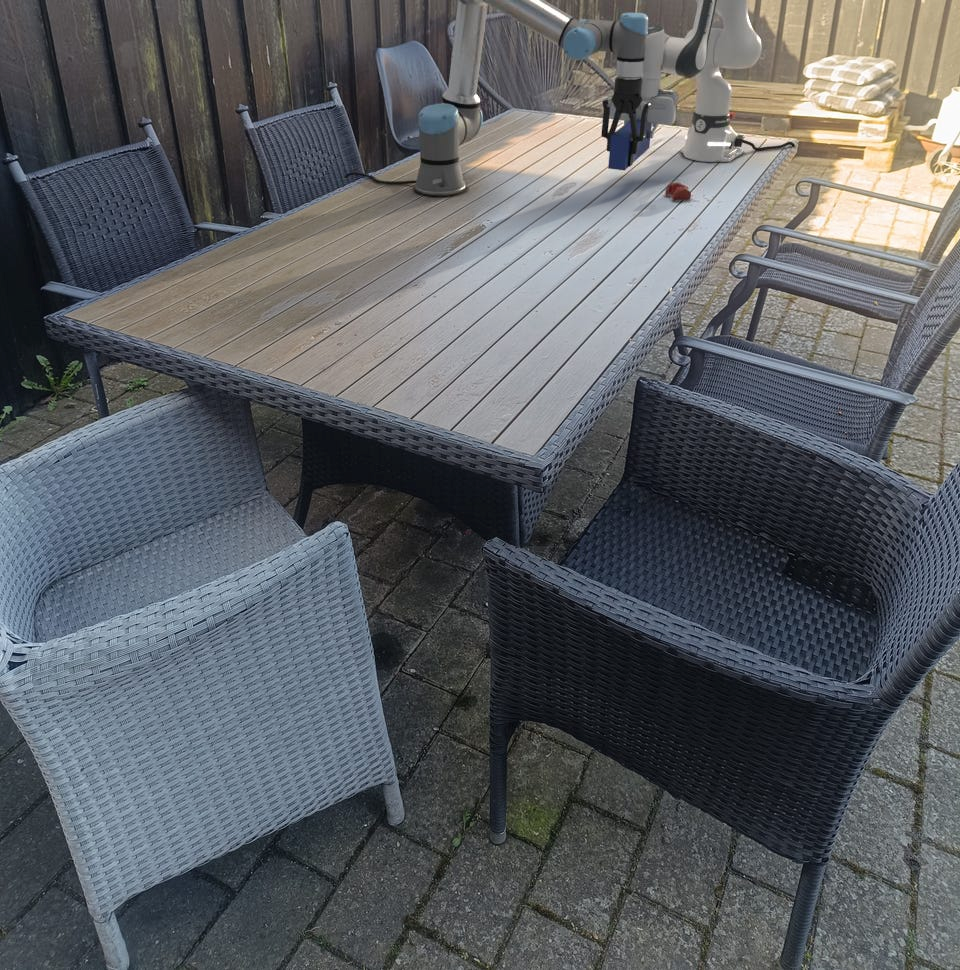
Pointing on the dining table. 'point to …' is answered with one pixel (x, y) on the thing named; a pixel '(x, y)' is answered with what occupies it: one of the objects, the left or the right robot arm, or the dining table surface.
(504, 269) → the dining table surface
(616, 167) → the bar
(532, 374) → the dining table surface
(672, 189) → the dental model
